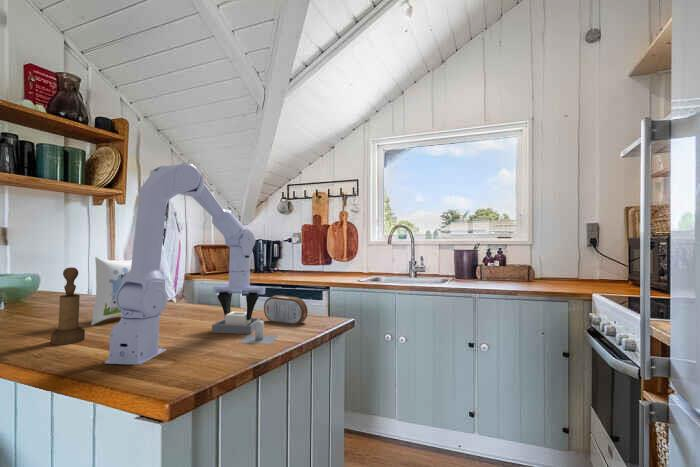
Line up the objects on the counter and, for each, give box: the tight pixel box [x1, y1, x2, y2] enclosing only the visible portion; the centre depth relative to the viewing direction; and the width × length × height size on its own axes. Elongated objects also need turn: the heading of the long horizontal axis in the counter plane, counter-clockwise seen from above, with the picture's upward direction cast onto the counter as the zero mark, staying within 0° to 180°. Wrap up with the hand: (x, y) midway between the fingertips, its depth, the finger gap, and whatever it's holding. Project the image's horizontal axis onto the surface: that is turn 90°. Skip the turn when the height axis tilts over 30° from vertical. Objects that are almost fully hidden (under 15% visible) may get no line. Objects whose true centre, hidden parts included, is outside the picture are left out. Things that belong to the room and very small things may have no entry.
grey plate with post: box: [238, 319, 279, 345], centre depth 92 cm, size 8×8×5 cm
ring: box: [224, 310, 251, 325], centre depth 103 cm, size 6×6×3 cm
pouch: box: [90, 256, 132, 326], centre depth 114 cm, size 8×19×20 cm, turn 157°
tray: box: [211, 317, 263, 335], centre depth 103 cm, size 11×11×3 cm
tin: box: [263, 294, 309, 325], centre depth 114 cm, size 15×3×8 cm, turn 66°
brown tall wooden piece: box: [50, 267, 86, 346], centre depth 89 cm, size 7×6×18 cm
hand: (238, 319), depth 103 cm, fingers closed on ring, 5 cm apart
